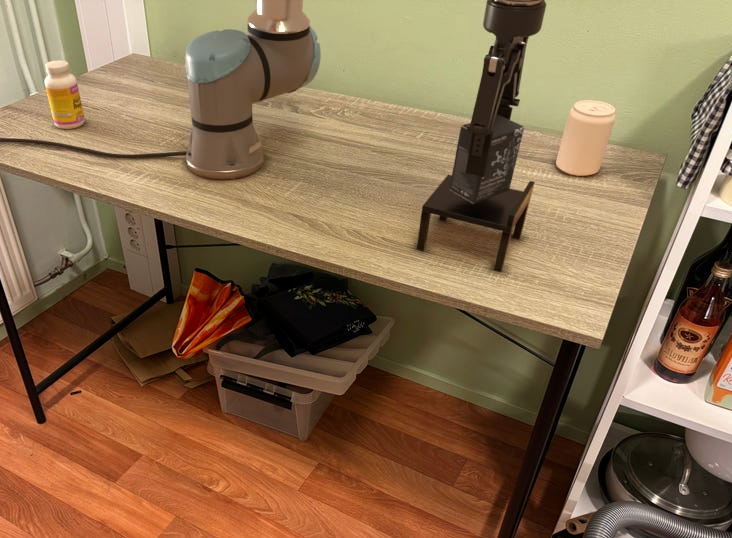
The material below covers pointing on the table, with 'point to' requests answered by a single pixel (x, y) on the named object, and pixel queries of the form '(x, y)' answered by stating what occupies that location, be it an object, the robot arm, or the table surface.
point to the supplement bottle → (63, 96)
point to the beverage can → (585, 137)
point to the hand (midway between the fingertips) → (485, 160)
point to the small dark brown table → (479, 214)
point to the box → (497, 166)
